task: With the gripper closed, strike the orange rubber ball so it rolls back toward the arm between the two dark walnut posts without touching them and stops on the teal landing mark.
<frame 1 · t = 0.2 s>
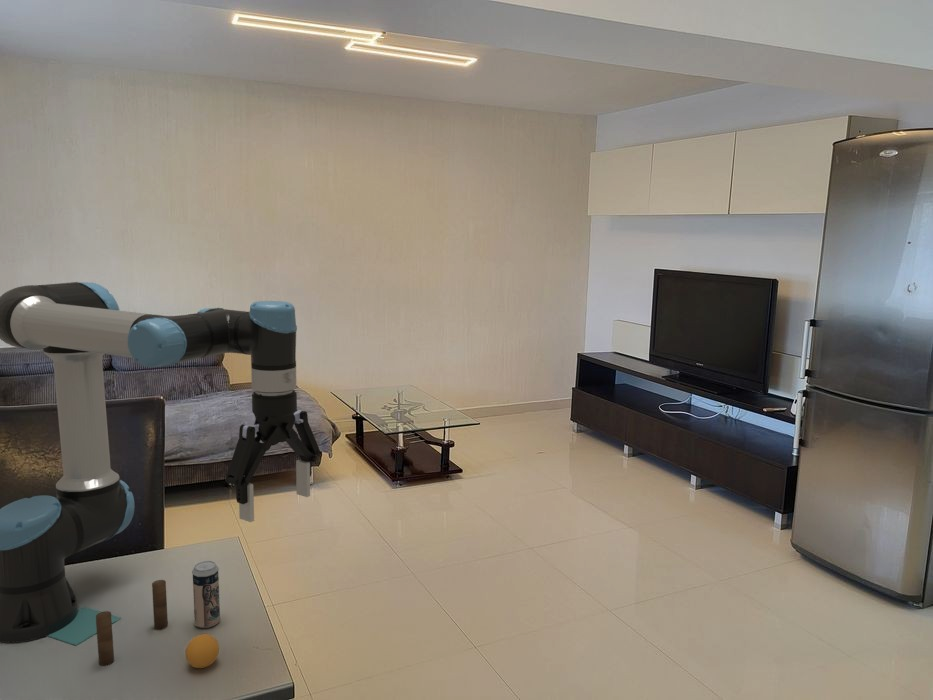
hand: (276, 507, 124), 27 cm above the table, tool pointing down, fingers open, 13 cm apart
beer can: (207, 624, 136), on the table
ball: (202, 650, 122), on the table
post 1: (106, 661, 123), on the table
landing mark: (80, 625, 134), on the table
post 2: (161, 626, 134), on the table
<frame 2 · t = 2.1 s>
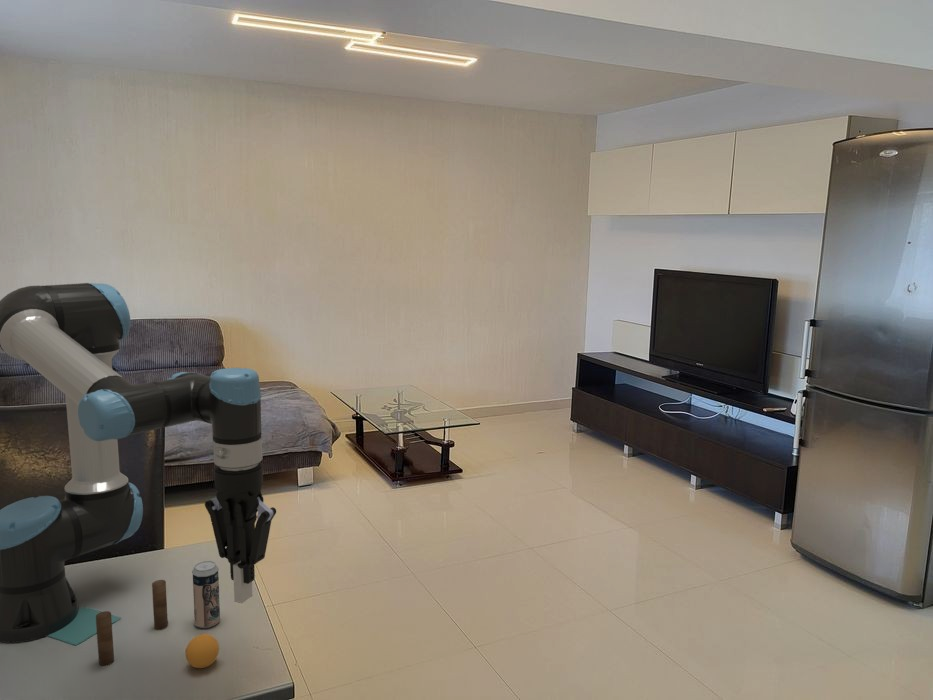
hand: (243, 598, 117), 15 cm above the table, tool pointing down, fingers closed
nothing on the table moved.
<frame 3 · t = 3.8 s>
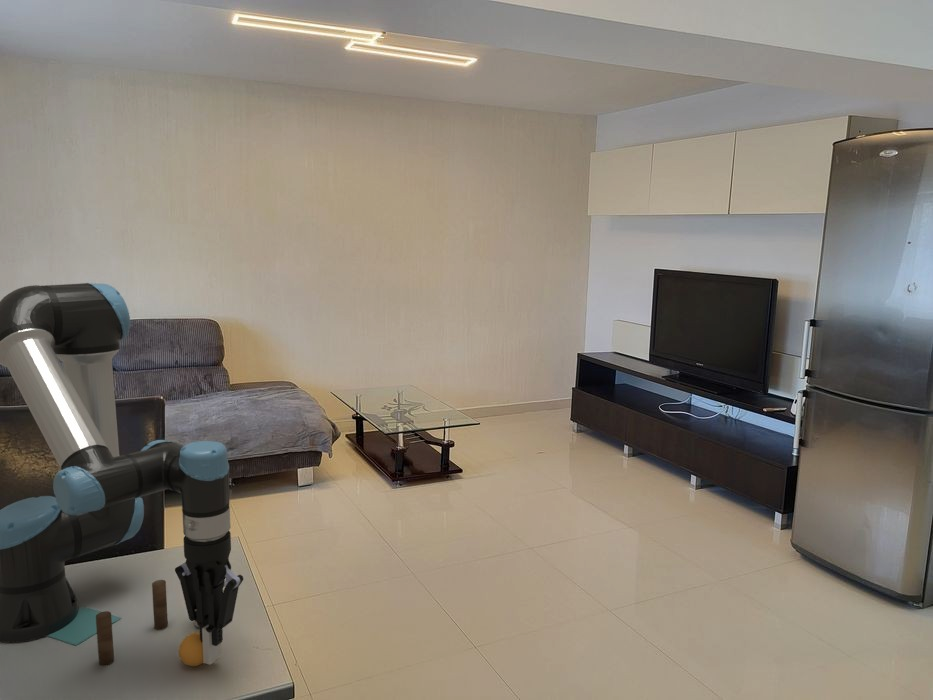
hand: (212, 659, 122), 2 cm above the table, tool pointing down, fingers closed
ball: (195, 648, 123), on the table, touching gripper
everything else where it was.
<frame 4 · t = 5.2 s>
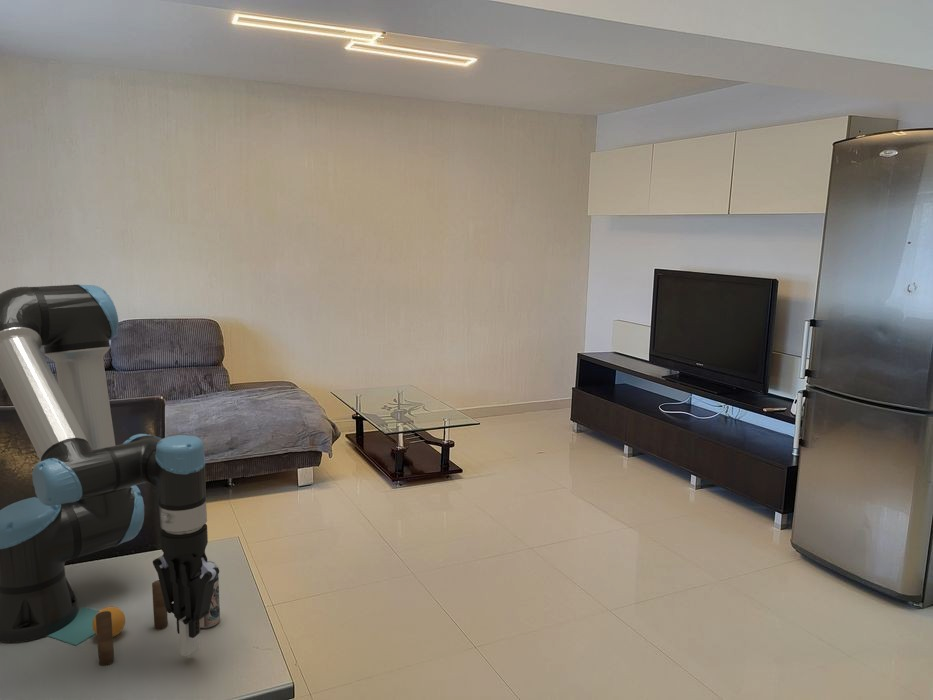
hand: (189, 651, 124), 2 cm above the table, tool pointing down, fingers closed
ball: (108, 622, 130), on the table
everything else where it was.
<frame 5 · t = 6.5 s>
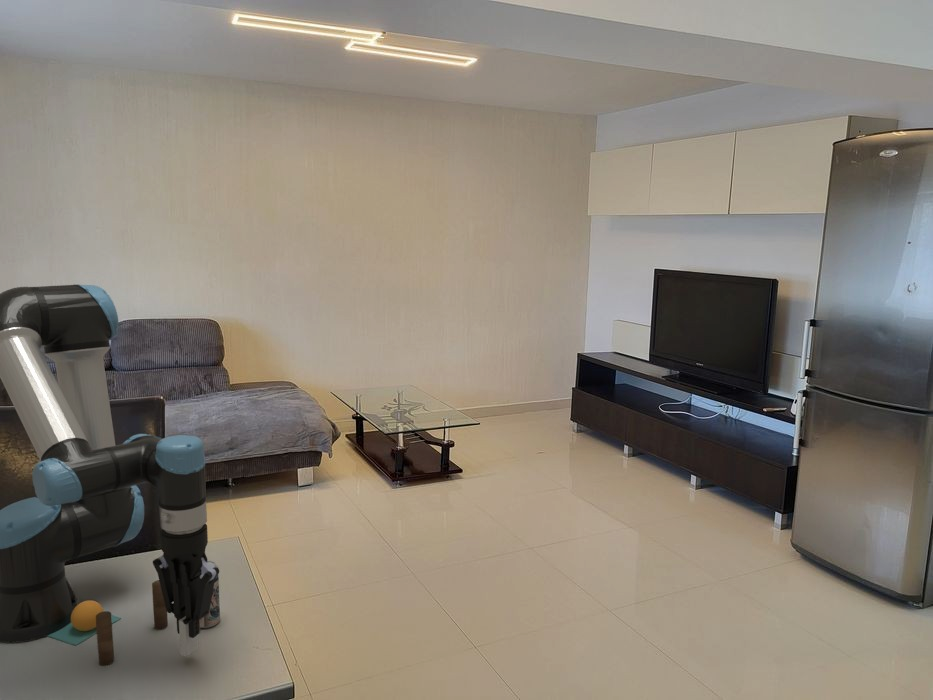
hand: (189, 651, 124), 2 cm above the table, tool pointing down, fingers closed
ball: (87, 615, 132), on the table
everything else where it was.
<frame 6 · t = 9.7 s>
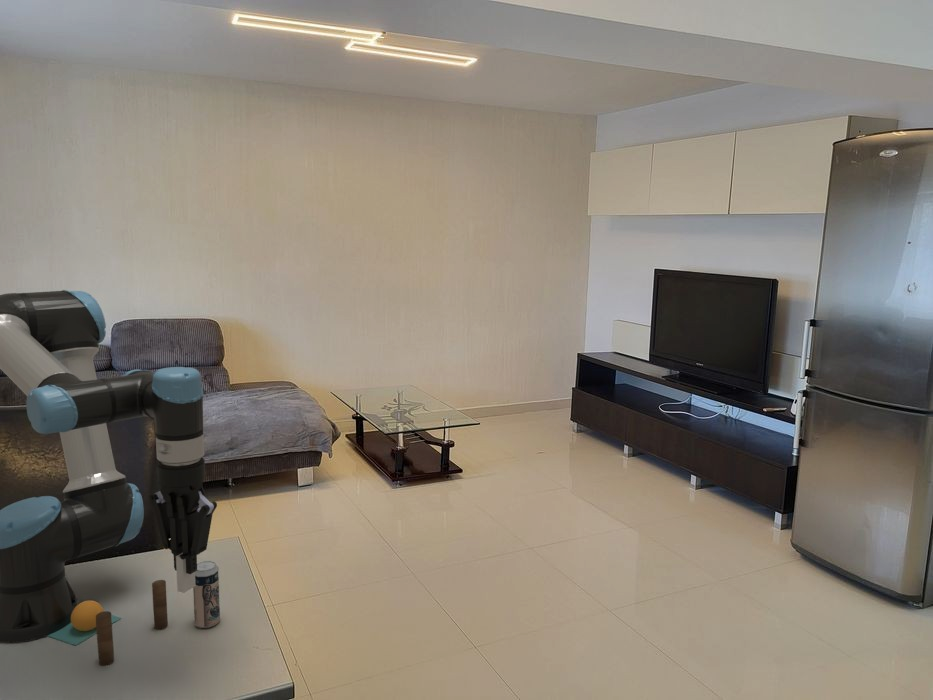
hand: (186, 588, 122), 14 cm above the table, tool pointing down, fingers closed
nothing on the table moved.
at the end: ball 2.3 cm from the landing mark (horizontally); ball never touched post 2; ball never touched post 1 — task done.
